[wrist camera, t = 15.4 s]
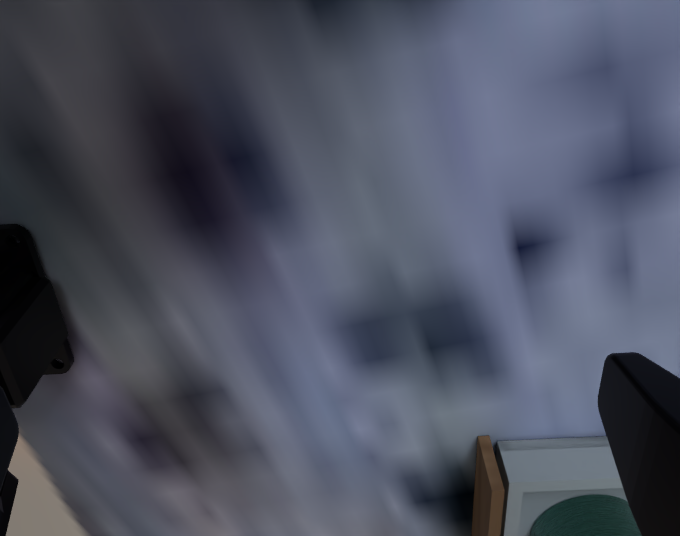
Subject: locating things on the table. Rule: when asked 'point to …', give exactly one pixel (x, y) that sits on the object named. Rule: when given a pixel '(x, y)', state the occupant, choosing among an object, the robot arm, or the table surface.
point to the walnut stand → (487, 492)
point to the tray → (552, 476)
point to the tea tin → (587, 518)
